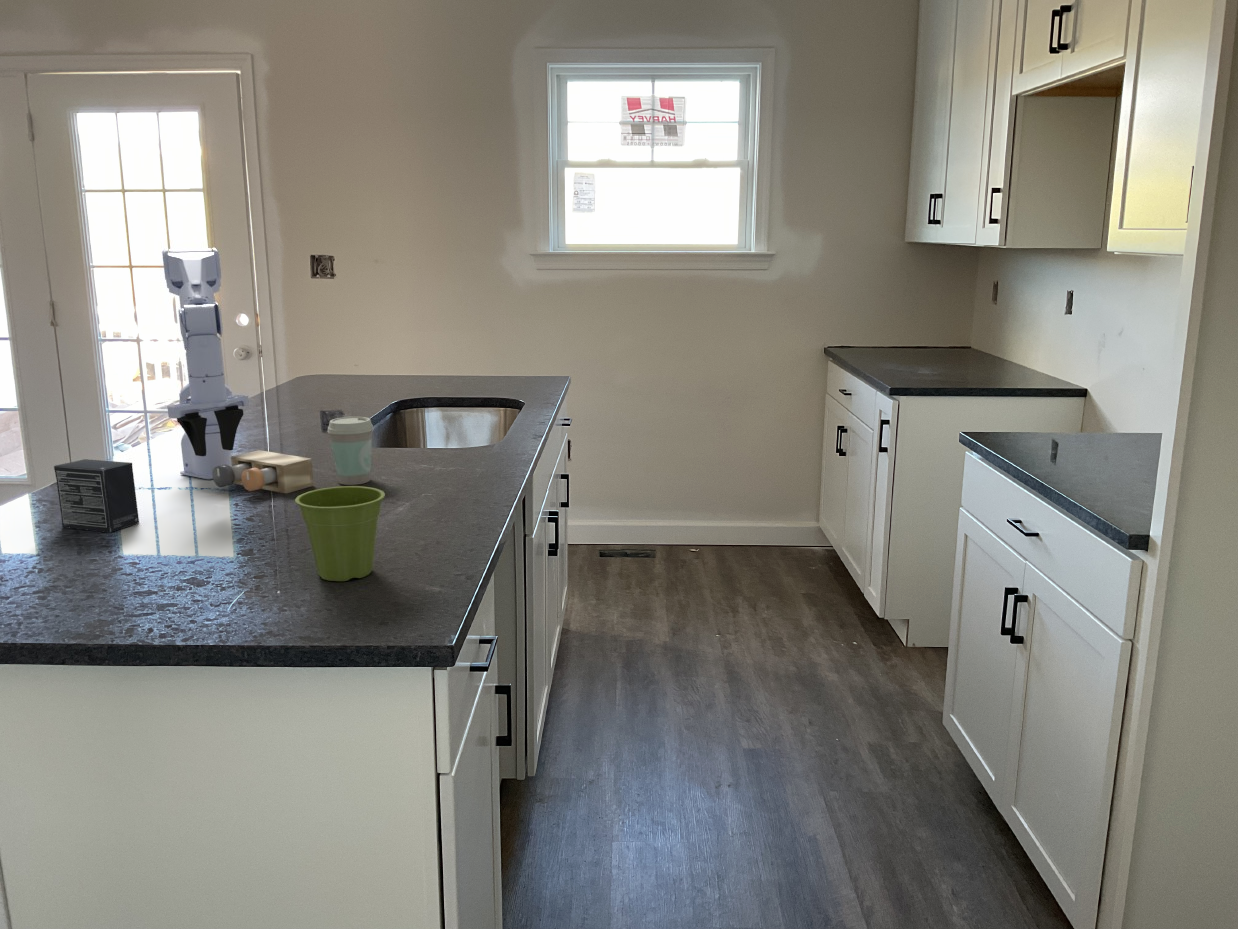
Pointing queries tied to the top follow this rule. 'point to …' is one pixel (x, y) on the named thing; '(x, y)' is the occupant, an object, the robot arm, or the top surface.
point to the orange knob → (258, 477)
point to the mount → (279, 469)
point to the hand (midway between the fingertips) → (214, 452)
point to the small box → (97, 495)
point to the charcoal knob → (229, 474)
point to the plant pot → (342, 529)
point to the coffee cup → (351, 448)
